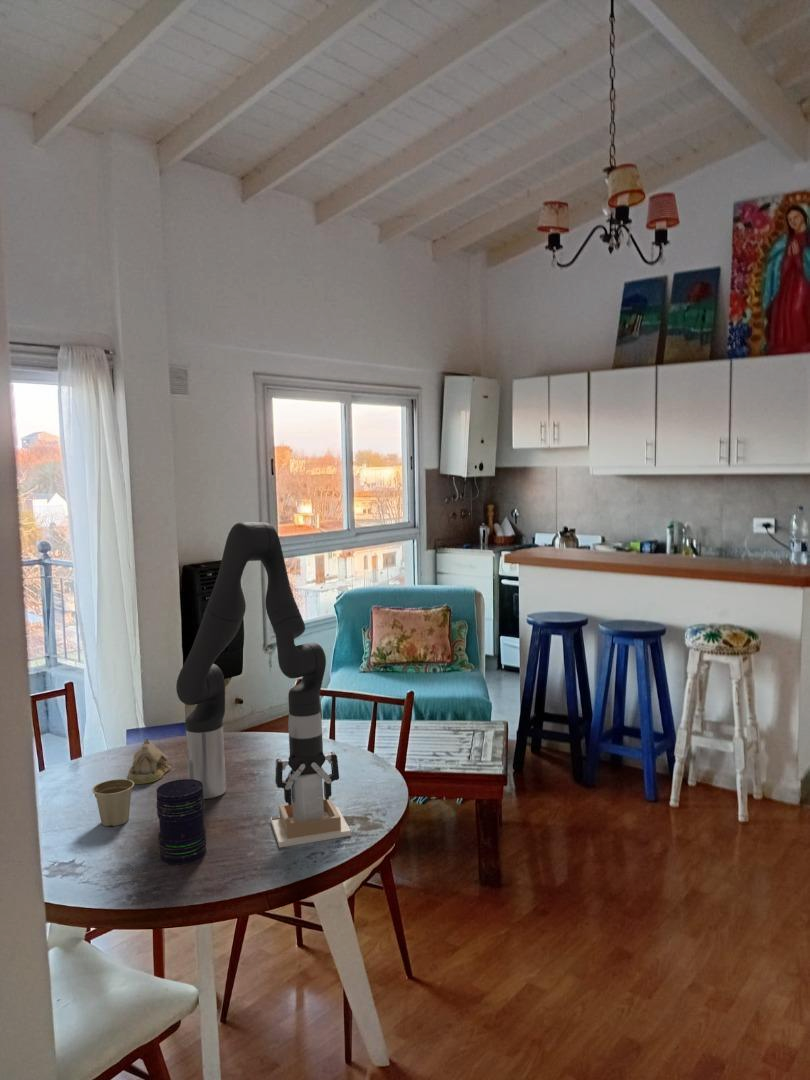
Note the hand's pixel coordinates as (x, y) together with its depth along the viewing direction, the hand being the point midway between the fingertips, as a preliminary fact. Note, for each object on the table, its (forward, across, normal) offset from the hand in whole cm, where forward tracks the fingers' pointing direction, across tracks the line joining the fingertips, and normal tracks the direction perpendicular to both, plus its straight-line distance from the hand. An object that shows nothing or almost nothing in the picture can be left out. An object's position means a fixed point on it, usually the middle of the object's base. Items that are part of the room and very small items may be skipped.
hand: (308, 801), depth 183 cm
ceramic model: (+7, -36, +50) cm, 62 cm away
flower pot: (+7, -43, +21) cm, 48 cm away
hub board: (+6, 0, 0) cm, 7 cm away
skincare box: (+6, 0, 0) cm, 6 cm away
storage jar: (+7, -28, -3) cm, 29 cm away
